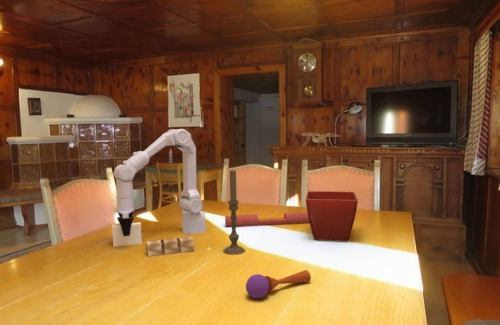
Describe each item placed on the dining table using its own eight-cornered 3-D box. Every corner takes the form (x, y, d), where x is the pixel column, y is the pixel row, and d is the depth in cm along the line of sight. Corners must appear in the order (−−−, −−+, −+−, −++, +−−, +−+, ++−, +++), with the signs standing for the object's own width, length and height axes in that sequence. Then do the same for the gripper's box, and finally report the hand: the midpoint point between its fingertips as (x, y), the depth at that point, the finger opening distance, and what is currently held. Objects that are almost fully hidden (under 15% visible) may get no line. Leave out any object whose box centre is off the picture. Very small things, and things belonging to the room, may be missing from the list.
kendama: (315, 271, 100) (256, 283, 89) (311, 291, 101) (252, 305, 90) (301, 261, 105) (243, 271, 94) (298, 280, 106) (240, 292, 95)
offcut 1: (160, 251, 128) (160, 239, 127) (161, 254, 124) (161, 243, 123) (147, 252, 126) (147, 241, 126) (148, 256, 122) (147, 244, 122)
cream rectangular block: (141, 242, 139) (140, 222, 138) (141, 245, 136) (140, 224, 135) (113, 245, 136) (112, 224, 135) (113, 248, 133) (112, 226, 132)
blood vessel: (226, 228, 161) (225, 217, 160) (225, 225, 166) (225, 214, 165) (317, 223, 167) (317, 213, 166) (313, 221, 172) (313, 210, 171)
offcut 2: (191, 247, 131) (191, 236, 131) (193, 250, 127) (193, 239, 127) (179, 248, 130) (179, 237, 129) (181, 252, 126) (180, 241, 125)
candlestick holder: (250, 250, 130) (249, 167, 127) (241, 259, 121) (240, 170, 118) (227, 248, 133) (225, 166, 130) (216, 256, 124) (214, 169, 121)
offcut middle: (176, 249, 129) (176, 238, 129) (177, 252, 126) (177, 241, 125) (163, 250, 128) (163, 239, 128) (164, 254, 124) (164, 242, 124)
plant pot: (307, 229, 157) (307, 190, 155) (353, 231, 153) (354, 191, 152) (305, 242, 138) (305, 198, 137) (357, 245, 134) (358, 200, 133)
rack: (188, 242, 140) (188, 236, 140) (194, 253, 127) (194, 247, 127) (145, 247, 135) (145, 240, 135) (147, 259, 122) (147, 252, 122)
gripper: (114, 194, 140) (115, 229, 141) (112, 201, 126) (114, 239, 127) (133, 193, 142) (134, 227, 143) (133, 200, 128) (135, 237, 130)
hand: (126, 233), depth 135 cm, fingers open, 7 cm apart
